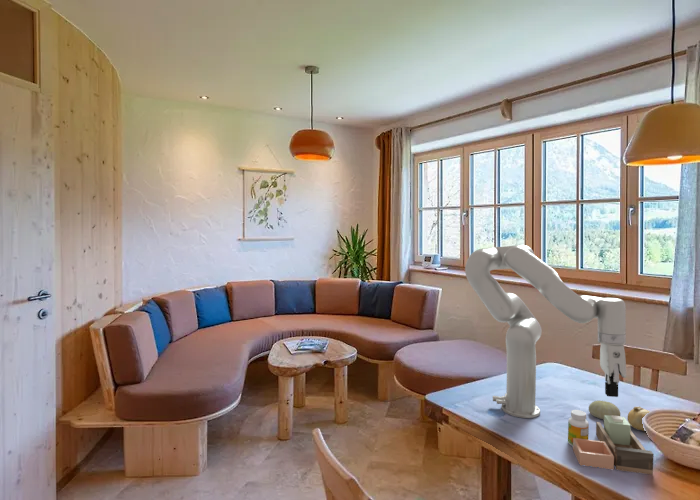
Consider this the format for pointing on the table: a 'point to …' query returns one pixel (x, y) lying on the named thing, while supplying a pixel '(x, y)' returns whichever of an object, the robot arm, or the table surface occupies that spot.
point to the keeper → (617, 429)
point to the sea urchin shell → (603, 409)
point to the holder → (593, 453)
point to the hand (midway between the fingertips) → (611, 395)
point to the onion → (637, 417)
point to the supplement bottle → (577, 426)
